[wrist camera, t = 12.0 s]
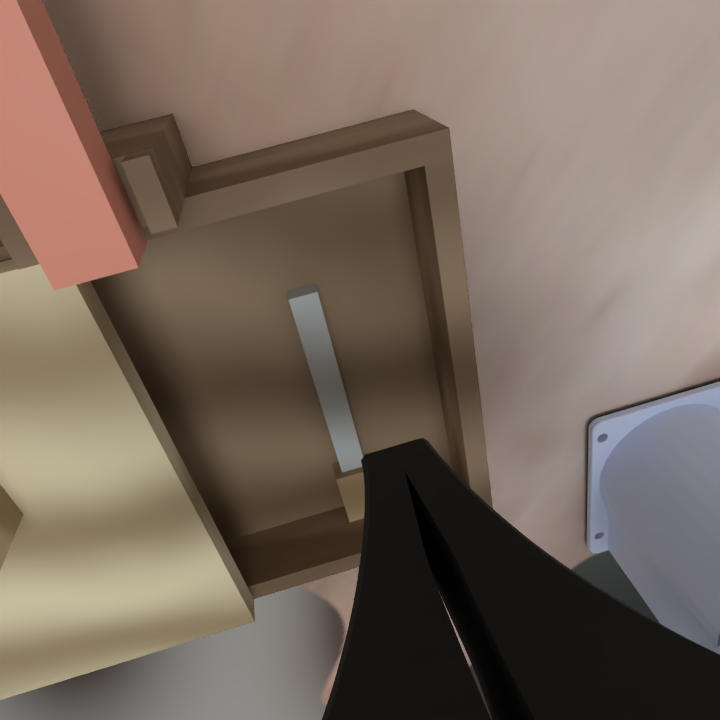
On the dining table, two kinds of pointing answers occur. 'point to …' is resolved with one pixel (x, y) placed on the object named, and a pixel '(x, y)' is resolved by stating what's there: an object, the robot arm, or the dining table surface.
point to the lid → (93, 501)
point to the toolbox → (296, 326)
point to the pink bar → (58, 158)
